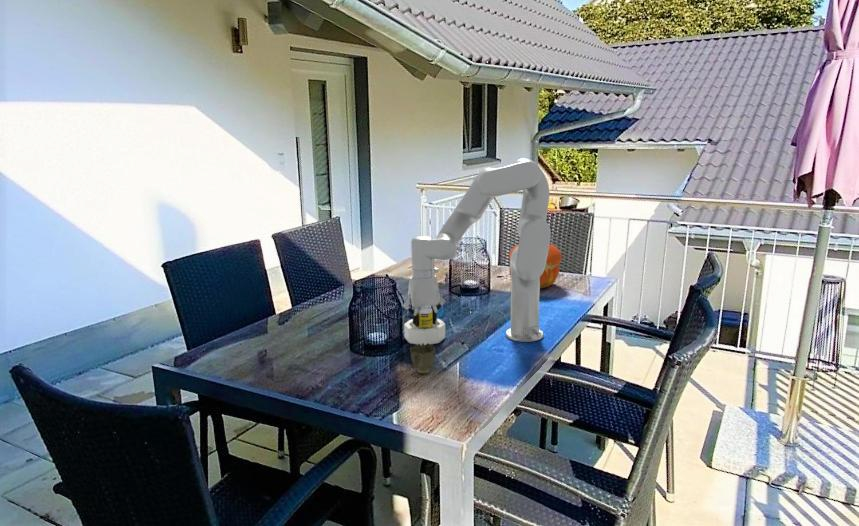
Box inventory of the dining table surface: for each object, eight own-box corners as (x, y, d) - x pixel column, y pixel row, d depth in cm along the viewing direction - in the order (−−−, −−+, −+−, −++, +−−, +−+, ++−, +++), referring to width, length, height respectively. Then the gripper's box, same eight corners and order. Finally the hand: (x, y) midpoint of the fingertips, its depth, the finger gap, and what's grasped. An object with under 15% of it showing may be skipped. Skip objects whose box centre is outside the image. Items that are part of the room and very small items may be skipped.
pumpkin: (502, 290, 256) (502, 245, 252) (515, 277, 277) (515, 235, 272) (555, 294, 248) (556, 248, 243) (564, 281, 268) (566, 237, 263)
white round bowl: (449, 341, 199) (449, 327, 198) (412, 346, 195) (412, 332, 194) (436, 328, 211) (435, 315, 210) (401, 334, 207) (400, 320, 206)
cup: (407, 370, 177) (406, 345, 175) (429, 365, 180) (429, 341, 178) (416, 379, 171) (415, 354, 169) (439, 375, 173) (439, 349, 172)
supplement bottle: (420, 333, 199) (420, 305, 197) (414, 328, 204) (413, 301, 202) (435, 330, 201) (434, 303, 199) (429, 325, 206) (428, 298, 204)
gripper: (443, 267, 204) (444, 317, 208) (395, 273, 199) (397, 324, 203) (451, 273, 197) (452, 324, 202) (402, 278, 192) (404, 331, 196)
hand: (424, 323), depth 202 cm, fingers closed on supplement bottle, 5 cm apart
